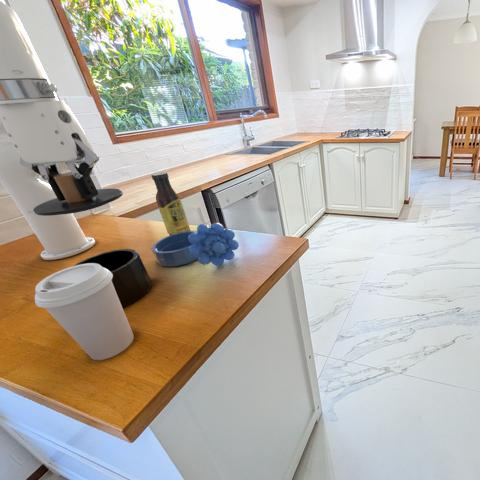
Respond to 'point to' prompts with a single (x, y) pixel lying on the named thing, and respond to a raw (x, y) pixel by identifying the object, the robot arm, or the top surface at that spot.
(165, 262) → the blue round dish
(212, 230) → the blue flower toy
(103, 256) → the pot
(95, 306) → the coffee cup
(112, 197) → the lid
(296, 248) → the top surface
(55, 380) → the top surface
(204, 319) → the top surface
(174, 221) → the sauce bottle
